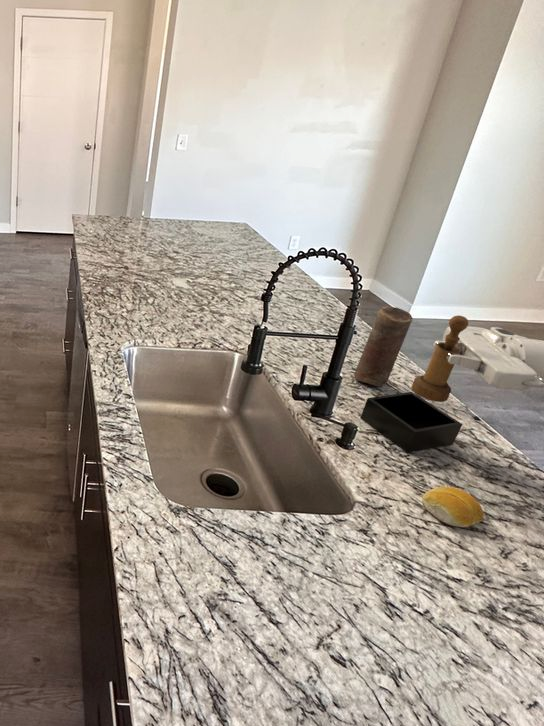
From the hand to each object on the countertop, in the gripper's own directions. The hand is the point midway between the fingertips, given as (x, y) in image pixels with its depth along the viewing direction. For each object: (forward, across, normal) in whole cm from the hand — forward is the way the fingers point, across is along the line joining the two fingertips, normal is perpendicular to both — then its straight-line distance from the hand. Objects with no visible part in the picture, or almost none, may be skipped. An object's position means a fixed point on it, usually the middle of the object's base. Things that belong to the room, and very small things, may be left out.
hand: (441, 351), depth 109 cm
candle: (0, +23, -22) cm, 32 cm away
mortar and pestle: (-1, 0, -10) cm, 10 cm away
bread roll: (+2, -23, -22) cm, 32 cm away
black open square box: (-1, +2, -22) cm, 22 cm away
